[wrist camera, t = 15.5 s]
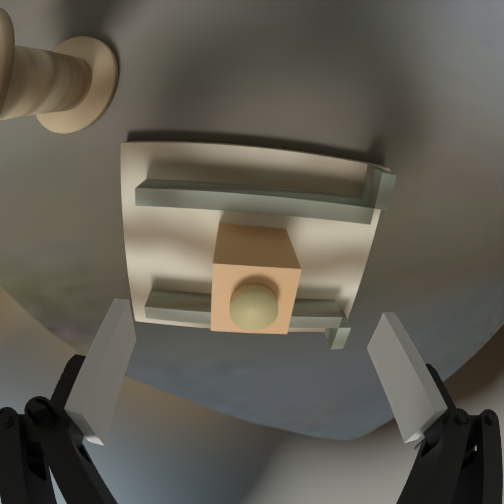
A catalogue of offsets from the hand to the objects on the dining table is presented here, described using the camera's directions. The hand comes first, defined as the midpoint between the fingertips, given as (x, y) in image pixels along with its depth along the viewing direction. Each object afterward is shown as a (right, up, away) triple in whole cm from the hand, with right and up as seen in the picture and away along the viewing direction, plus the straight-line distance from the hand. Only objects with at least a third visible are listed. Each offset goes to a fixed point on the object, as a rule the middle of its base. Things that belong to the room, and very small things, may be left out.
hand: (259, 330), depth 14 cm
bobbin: (-14, +17, +2) cm, 22 cm away
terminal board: (-1, +4, +9) cm, 11 cm away
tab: (-1, +4, +9) cm, 9 cm away
